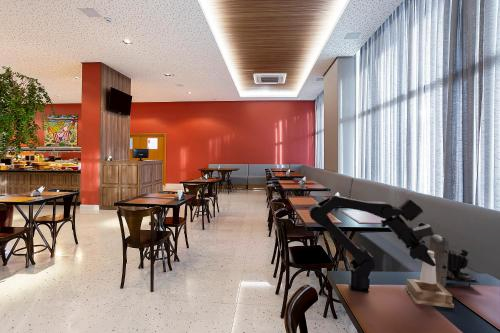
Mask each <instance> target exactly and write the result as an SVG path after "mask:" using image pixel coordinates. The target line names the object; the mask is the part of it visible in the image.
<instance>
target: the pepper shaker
mask: <svg viewBox="0 0 500 333" xmlns="http://www.w3.org/2000/svg"><path fill="white" fill-rule="evenodd" d="M428 254H429V255H430V257H431V258H432V260H433V261H434V263H435V259H434V252H433V251H429V250H428ZM419 280H421V281H423V282H425V283H429V284H436V266H431V265H429V264H427V263H425V262H423V261H422V265H421V271H420V276H419Z"/></svg>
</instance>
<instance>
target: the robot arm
mask: <svg viewBox="0 0 500 333" xmlns="http://www.w3.org/2000/svg"><path fill="white" fill-rule="evenodd" d="M337 207H341V208H344V209H350V210H355V211H361V212H365V213H369V214H371V215H374V216H376V217H378V218H381V219H380V227H381V228H385V227H386V226H387V227H388V229H389V230H391V232H392V233H394V234H395V236H396V238H397V239H398V240H399V241H400V242H402V243H403V245H404V246H405V248H407V250H408V255H409V256H410V258H411V259H412V260H416V259H417V260H419V261H422V263H423V262H425V263H427V264H429V265H431V266H435V265H436V264H435V263H434V261H433V260H432V258H431V257H430V255H429V254H428V250H429V246H428V245H427V244H426V242H425V240H424V239H423V238H425V237H430V236H433V235H434V233H435V232H434V231H433V229H432V226H431V225H430V224H427V223H426V224H425V222H423V221H421V222H418V225H417V226H416V227H414V228H413V227H412V226H411V225H409V224H407V223H406V222H413V221H414V220H415V219H416V218H418V217H419V216H420V215H422V214H423V213H424V210H423V208H422V207H420V206H419V205H418V204H416V203H415V201H413V200H412V199H410V198H407V199H406V200H405V201H404V202H403V203H402V204H401V205H399V207H397V206H393V205H391V204H389V203H387V202H385V201H379V200H378V201H374V200H373V201H365V200H359V199H354V198H349V197H344V196H341V195H340V196H339V195H337V194H332V195H330V196H329V197H327V198H326V199H322V201H320V202H318V203H317V204H316V203H314V204H311V205H310V206H309V207H308V211H307V212H308V215H309V217H310V218H311V220H313V222H315V223H316V224H317V225H319V226H321V227H323V228H324V229H326V231H327V232H328V233H329V234H330V235H331V236H332V237H333V238H335V240H336V241H337V242H339V244H340V245H341V246H342V247H343V248H344V249H345V250H346V251H347V252H348V253H349V254H350V255H351V257H352V260H351V261H349V263H348V264H349V268H350V271H349V282H348V285H349V286H348V287H349V289H350V291H355V292H363V293H369V292H370V290H369V289H370V285H371V284H370V281H371V278H370V275H371V272H372V271H374V269H375V267H376V262H375V260H374V256H373V255H372V254H371V253H370V252H369V251H367V249H366V248H365V247H364V246H363V245H360V247H359V246H357V245H356V244H355V243H354V242H353V241H352V240H351V239H350V238H349V237H348V236H347V235H346V234H345V233H344V232H343V231H342V230H341V229H340V228H339V227H338V226H337V225H336V224H335V223H334V222H333V221H332V220H331V219H330V216H328V215H329V214H330V213H331V212H333V210H334V209H335V208H337Z"/></svg>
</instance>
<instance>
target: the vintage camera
mask: <svg viewBox="0 0 500 333" xmlns="http://www.w3.org/2000/svg"><path fill="white" fill-rule="evenodd" d="M428 248H429V251H433V252H434V259H435V264H436V265H435V266H436V282H439V283H440V284H441V285H442V286H443V287H444V288H445V286H446V283H447V281H451V282H458V283H459V282H460V283H461V282H462V283H468V286H469V287H471V284H473V283H474V284H480V282H479V281H477V279H476V278H474V277H472V276H471V275H470V274H469V273H468V272H462V271H461V270H464V269H466V268H467V266H468V263H469V261H470V259H467V258H466V257H467V256H468V254H469V251H467V250H466V249H463V248H462V249H461V252H460V253H458V252H456V251H454V250H451V249H450V242H449V240H448V239H446V238H445V237H443V236H441V235H439V234H438V233H435V232H434V235H433V236H429V246H428Z"/></svg>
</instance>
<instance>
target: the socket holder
mask: <svg viewBox="0 0 500 333" xmlns="http://www.w3.org/2000/svg"><path fill="white" fill-rule="evenodd" d="M404 289H405V290H406V292H407V291H408V292H407V293H408V294H410V295H409V296H410V298H411V299H412V300H413V303H415V304H420V305H426V306H427V305H428V306H433V307H435V306H437V307H444V308H449V309H451V308H452V309H454V308H455V304H454V303H453V295H452V293H450V291H448V290H447V289H446V287H445V286H444V287H443V286H442V285H441V284H440V283H439V282H436V284H429V283H425V282H423V281H421V280H420V279H414V278H413V279H411V278H407V279H406V285H404Z"/></svg>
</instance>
